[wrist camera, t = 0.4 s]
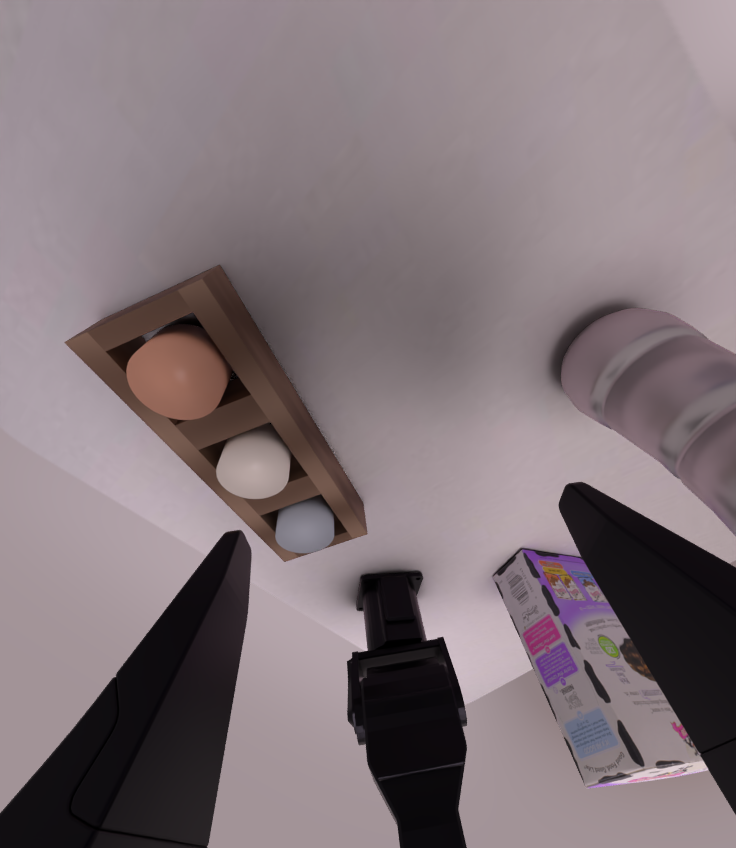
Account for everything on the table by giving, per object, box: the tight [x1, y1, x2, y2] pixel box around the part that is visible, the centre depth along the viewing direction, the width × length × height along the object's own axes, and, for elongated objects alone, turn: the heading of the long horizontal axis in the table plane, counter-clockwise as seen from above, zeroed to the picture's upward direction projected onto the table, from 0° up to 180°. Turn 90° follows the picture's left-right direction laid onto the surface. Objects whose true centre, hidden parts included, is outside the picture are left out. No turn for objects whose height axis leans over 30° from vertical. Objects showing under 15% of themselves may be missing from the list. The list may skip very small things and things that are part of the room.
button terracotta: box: [126, 324, 233, 420], centre depth 16 cm, size 4×4×2 cm
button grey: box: [275, 494, 334, 553], centre depth 24 cm, size 4×4×2 cm
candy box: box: [493, 549, 708, 788], centre depth 31 cm, size 14×6×16 cm, turn 68°
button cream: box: [216, 423, 291, 499], centre depth 20 cm, size 4×4×2 cm
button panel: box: [64, 265, 367, 562], centre depth 21 cm, size 20×7×3 cm, turn 21°
